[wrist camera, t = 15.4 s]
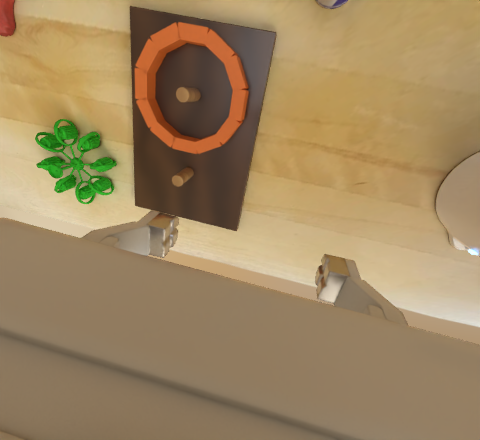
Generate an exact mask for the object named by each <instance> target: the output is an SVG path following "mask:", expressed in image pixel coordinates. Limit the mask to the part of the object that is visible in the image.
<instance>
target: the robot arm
mask: <svg viewBox="0 0 480 440" xmlns="http://www.w3.org/2000/svg"><path fill="white" fill-rule="evenodd" d="M436 213H437V216H438V218H439V220H440V221H441V223H442V224H443V225H444V227H445V228H446V229H447V231H448V235H449V242H450V244H451V245H452V246H453V247H454V248H456V249H458V250H466V251H468V252H469V253H471V254H475V255H478V256H479V257H480V152H478V153H476V154H474V155H472V156H470V157H469V158H467V159H466V160H464V161H463V162H462V163H460V164H459V165H458V166H457V167H455V168H454V169H453V170H452V171H451V172H450V174H449V175H448V176H447V177H446V179H445V180H444V181H443V183H442V185H441V187H440V189H439V191H438V194H437V198H436ZM178 224H179V218H178V217H176V216H172V215H169V214H165V213H161V212H158V211H152V210H151V211H150V212H149V213H148V214H146V215H145V216H144V217H143V218H142V219H140V220H139V221H138V222H130V223H126V224H121V225H117V226H112V227H107V228H103V229H98V230H93V231H91V232H89V233H88V234H86V235H85V236H84V237H82V238H78V237H74V236H70V235H66V234H63V233H59V232H56V231H52V230H48V229H44V228H41V227H37V226H33V225H29V224H26V223H22V222H19V221H15V220H12V219H8V218H0V440H480V345H479V344H475V343H471V342H468V341H463V340H460V339H456V338H453V337H449V336H445V335H441V334H438V333H434V332H430V331H426V330H423V329H419V328H415V327H411V326H408V323H407V321H406V320H405V317H404V315H403V314H402V312H401V311H399V310H398V309H397V308H396V307H395V306H394V305H392V304H391V303H390V302H389V301H388V300H387V299H385V298H384V297H383V296H382V295H381V294H380V293H378V292H377V291H376V290H375V289H374V288H373V287H371V286H370V285H369V284H368V283H367V282H366V281H364V280H361V277H360V275H359V272H358V269H357V267H356V264H355V261H353V260H349V259H345V258H340V257H336V256H331V255H327V254H324V256H323V257H322V260H321V262H322V265H321V266H319V267H318V270H317V272H316V277H315V282H316V285H317V286H318V287H317V298H318V299H320V300H323V301H327V302H330V303H333V304H334V305H335V306H333V305H329V304H325V303H322V302H318V301H313V300H310V299H307V298H303V297H299V296H295V295H292V294H288V293H284V292H280V291H277V290H273V289H269V288H265V287H261V286H257V285H254V284H250V283H247V282H243V281H239V280H235V279H231V278H228V277H224V276H220V275H217V274H213V273H209V272H205V271H202V270H198V269H194V268H190V267H186V266H183V265H179V264H175V263H172V262H168V261H164V260H160V259H157V258H153V257H149V256H148V255H153V256H158V257H162V258H164V257H165V256H166V255H167V253H168V252H169V248H170V247H173V246H174V244H175V242H176V240H177V236H178V230H177V228H176V227H177V226H178Z"/></svg>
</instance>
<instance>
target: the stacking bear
mask: <svg viewBox="0 0 480 440" xmlns="http://www.w3.org/2000/svg"><path fill="white" fill-rule="evenodd" d="M13 4H14V0H0V35H1V36H8V35H9V36H11V35H12V34H13V32H14V30H15V20H14V15H13Z"/></svg>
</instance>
